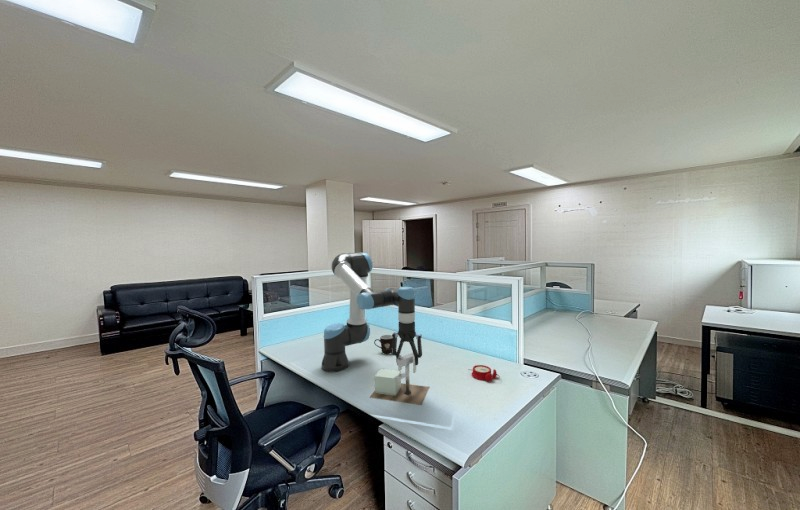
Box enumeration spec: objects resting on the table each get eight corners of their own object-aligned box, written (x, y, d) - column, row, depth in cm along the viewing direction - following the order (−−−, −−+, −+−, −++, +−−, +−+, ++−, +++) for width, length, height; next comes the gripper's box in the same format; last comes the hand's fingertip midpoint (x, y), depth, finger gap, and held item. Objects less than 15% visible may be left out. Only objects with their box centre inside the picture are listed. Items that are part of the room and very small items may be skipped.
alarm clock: (476, 363, 165) (501, 364, 155) (478, 374, 165) (504, 377, 154) (465, 368, 158) (491, 370, 148) (468, 381, 157) (494, 384, 147)
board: (369, 399, 136) (369, 395, 136) (382, 382, 151) (382, 379, 151) (421, 407, 129) (421, 403, 129) (429, 388, 144) (429, 385, 144)
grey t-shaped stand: (398, 398, 133) (397, 361, 132) (393, 395, 135) (393, 359, 134) (417, 388, 141) (417, 354, 140) (413, 386, 143) (412, 352, 143)
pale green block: (374, 393, 139) (374, 376, 139) (381, 384, 147) (380, 368, 147) (395, 396, 136) (395, 378, 136) (401, 387, 144) (400, 371, 144)
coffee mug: (395, 350, 196) (395, 335, 195) (390, 355, 187) (390, 339, 187) (379, 348, 199) (378, 333, 199) (373, 353, 191) (373, 337, 191)
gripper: (429, 320, 138) (429, 369, 139) (389, 317, 144) (390, 365, 145) (425, 324, 131) (426, 376, 132) (383, 321, 137) (384, 371, 138)
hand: (407, 370), depth 139 cm, fingers open, 6 cm apart
